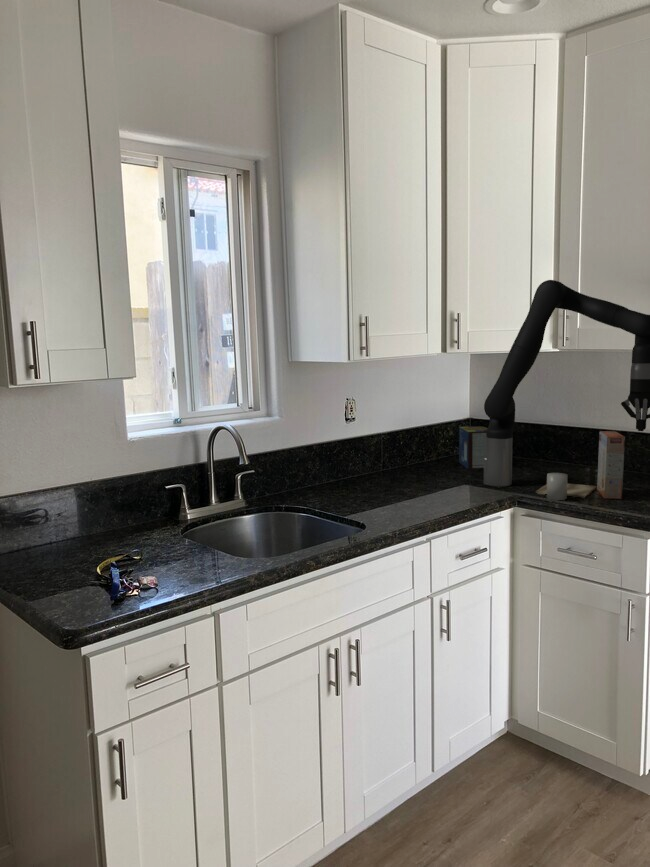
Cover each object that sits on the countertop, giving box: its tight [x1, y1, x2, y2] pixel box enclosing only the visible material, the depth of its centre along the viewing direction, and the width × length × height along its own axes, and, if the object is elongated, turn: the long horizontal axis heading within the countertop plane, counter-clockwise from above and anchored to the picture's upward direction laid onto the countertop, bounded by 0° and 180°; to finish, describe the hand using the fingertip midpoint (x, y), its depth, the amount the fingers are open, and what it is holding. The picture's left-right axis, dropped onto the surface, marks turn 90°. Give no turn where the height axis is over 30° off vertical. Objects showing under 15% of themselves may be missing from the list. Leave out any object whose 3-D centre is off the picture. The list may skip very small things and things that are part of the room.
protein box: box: [458, 425, 488, 470], centre depth 299 cm, size 10×15×16 cm
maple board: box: [535, 482, 597, 499], centre depth 248 cm, size 16×18×1 cm
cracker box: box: [596, 430, 626, 500], centre depth 240 cm, size 14×6×21 cm, turn 168°
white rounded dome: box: [545, 472, 568, 501], centre depth 237 cm, size 6×6×8 cm
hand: (640, 430), depth 233 cm, fingers closed
